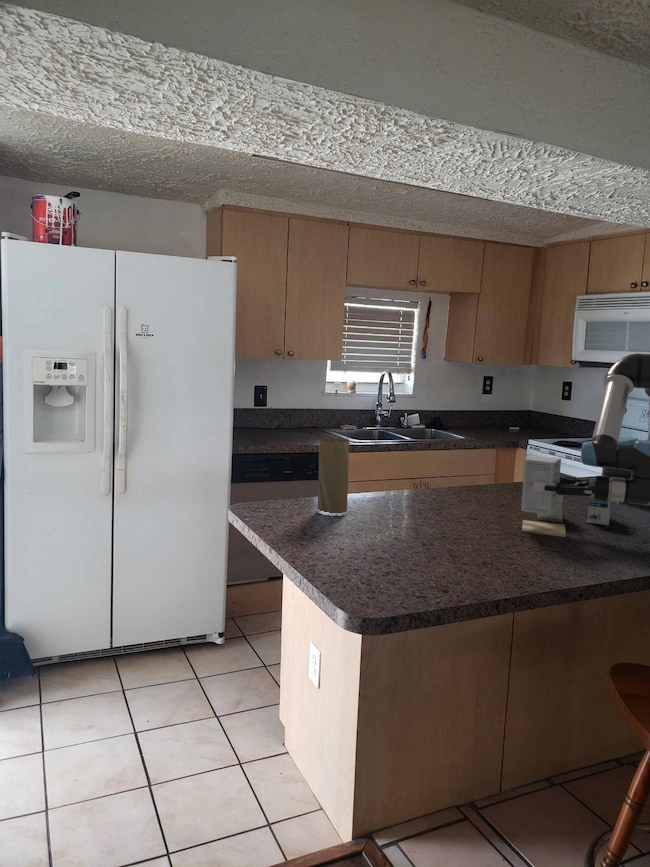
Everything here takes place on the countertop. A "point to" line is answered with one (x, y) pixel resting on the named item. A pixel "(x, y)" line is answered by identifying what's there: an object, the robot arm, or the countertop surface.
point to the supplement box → (540, 472)
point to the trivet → (543, 528)
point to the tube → (333, 474)
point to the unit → (556, 515)
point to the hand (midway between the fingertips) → (533, 482)
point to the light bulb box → (599, 511)
